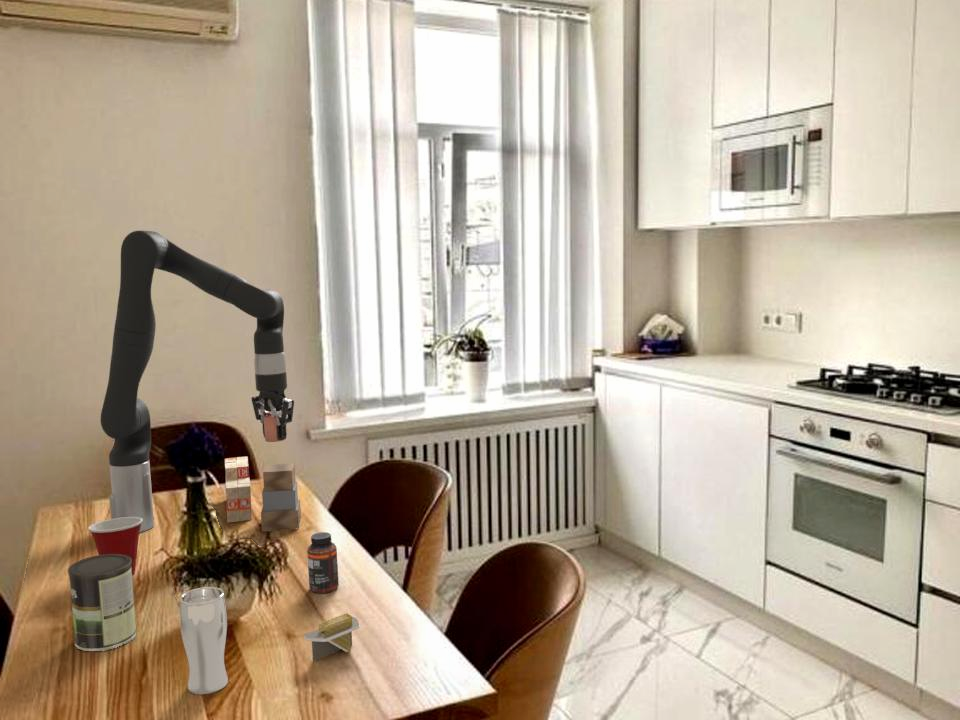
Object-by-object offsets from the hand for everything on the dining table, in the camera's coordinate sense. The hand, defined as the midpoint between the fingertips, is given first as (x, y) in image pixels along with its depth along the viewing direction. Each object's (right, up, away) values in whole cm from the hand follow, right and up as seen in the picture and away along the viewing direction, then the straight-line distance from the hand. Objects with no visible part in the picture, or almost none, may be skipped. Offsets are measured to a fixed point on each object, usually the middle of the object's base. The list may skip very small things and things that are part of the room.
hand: (274, 438), depth 203 cm
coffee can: (-16, -31, -57) cm, 66 cm away
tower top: (+1, -13, +3) cm, 13 cm away
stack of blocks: (-14, -21, +17) cm, 31 cm away
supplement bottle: (+19, -27, -36) cm, 49 cm away
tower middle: (+1, -18, +4) cm, 18 cm away
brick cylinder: (0, 0, 0) cm, 0 cm away
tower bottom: (+1, -23, +4) cm, 23 cm away
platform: (+27, -31, -64) cm, 76 cm away
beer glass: (+8, -33, -73) cm, 80 cm away
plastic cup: (-27, -27, -27) cm, 47 cm away
